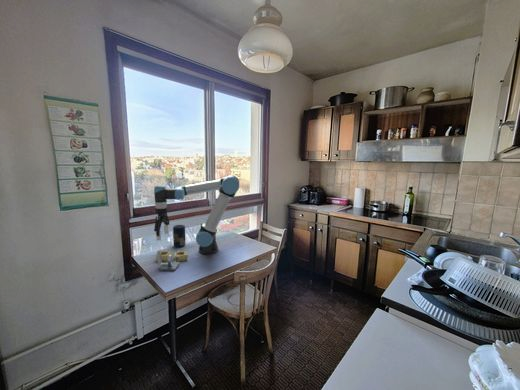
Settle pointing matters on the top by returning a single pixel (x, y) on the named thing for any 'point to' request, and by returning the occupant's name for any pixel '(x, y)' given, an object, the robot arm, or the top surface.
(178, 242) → the canister
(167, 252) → the link
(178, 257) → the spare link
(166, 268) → the keeper
